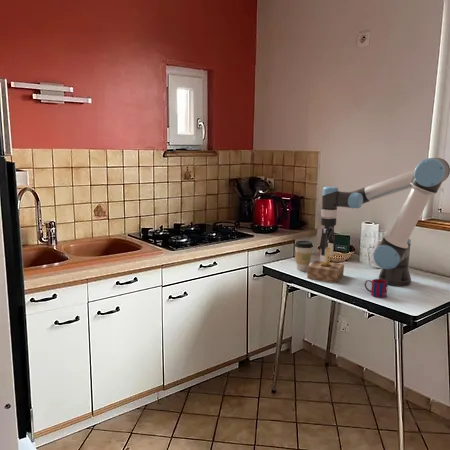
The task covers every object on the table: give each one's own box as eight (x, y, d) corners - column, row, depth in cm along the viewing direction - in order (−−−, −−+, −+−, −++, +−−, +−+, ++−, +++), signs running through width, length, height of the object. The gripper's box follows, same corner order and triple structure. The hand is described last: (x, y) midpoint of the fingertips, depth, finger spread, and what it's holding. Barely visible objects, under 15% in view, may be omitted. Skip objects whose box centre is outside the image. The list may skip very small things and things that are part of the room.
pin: (329, 273, 235) (330, 247, 232) (328, 276, 232) (329, 249, 229) (323, 272, 237) (323, 247, 234) (321, 275, 234) (321, 248, 231)
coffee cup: (311, 272, 242) (313, 245, 239) (293, 271, 244) (294, 243, 241) (312, 267, 251) (313, 240, 249) (294, 266, 253) (295, 239, 251)
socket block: (343, 275, 238) (344, 264, 237) (336, 282, 226) (337, 270, 224) (315, 271, 244) (315, 260, 243) (307, 278, 232) (307, 266, 231)
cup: (382, 299, 203) (384, 284, 202) (361, 293, 209) (362, 279, 208) (389, 295, 208) (390, 281, 207) (368, 290, 214) (369, 276, 213)
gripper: (328, 213, 242) (325, 252, 246) (314, 220, 220) (312, 263, 224) (342, 214, 238) (339, 253, 242) (329, 221, 217) (327, 265, 221)
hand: (326, 258), depth 233 cm, fingers open, 13 cm apart
